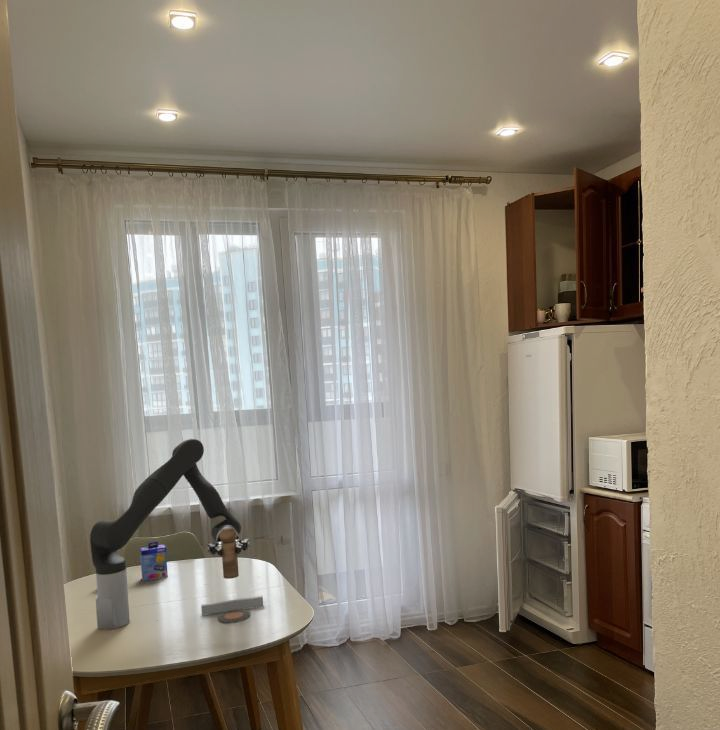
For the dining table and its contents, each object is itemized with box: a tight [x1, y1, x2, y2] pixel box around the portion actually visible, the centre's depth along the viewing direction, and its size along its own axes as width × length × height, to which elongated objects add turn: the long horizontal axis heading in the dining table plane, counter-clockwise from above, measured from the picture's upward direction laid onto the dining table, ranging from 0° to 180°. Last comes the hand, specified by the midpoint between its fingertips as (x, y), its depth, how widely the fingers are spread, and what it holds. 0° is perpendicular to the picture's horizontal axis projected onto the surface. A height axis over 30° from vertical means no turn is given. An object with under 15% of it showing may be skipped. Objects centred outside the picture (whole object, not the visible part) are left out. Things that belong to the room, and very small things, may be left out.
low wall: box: [200, 595, 264, 616], centre depth 222 cm, size 20×2×3 cm, turn 103°
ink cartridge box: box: [139, 540, 169, 582], centre depth 269 cm, size 10×6×14 cm, turn 115°
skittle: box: [220, 527, 240, 580], centre depth 216 cm, size 5×5×16 cm
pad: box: [217, 609, 250, 624], centre depth 215 cm, size 10×10×1 cm
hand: (229, 551), depth 213 cm, fingers closed on skittle, 4 cm apart
